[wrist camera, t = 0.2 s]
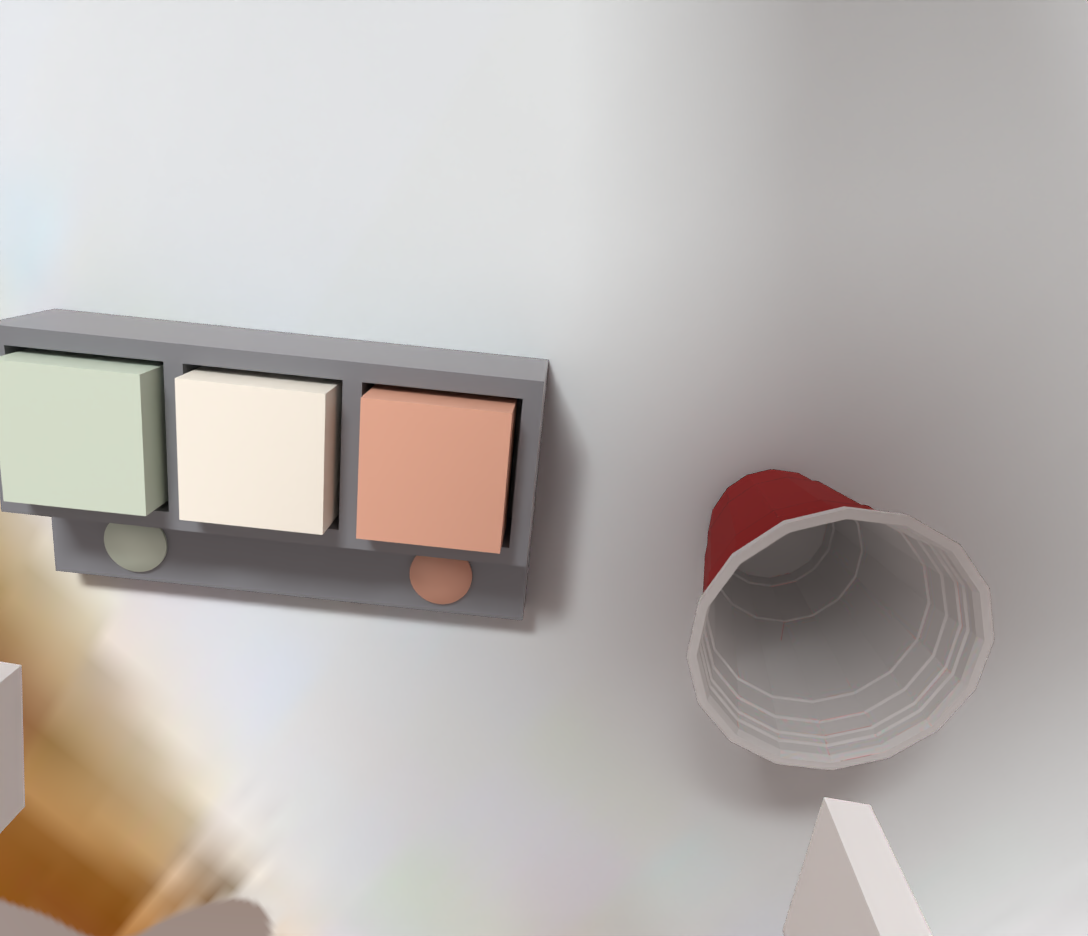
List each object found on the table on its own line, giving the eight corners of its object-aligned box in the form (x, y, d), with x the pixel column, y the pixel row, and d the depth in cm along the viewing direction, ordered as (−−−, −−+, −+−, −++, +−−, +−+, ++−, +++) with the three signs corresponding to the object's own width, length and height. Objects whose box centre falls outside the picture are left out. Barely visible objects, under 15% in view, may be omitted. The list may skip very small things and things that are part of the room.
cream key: (206, 364, 37) (174, 378, 34) (345, 378, 37) (325, 393, 34) (209, 496, 39) (179, 519, 36) (341, 509, 39) (322, 534, 36)
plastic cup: (710, 661, 44) (756, 824, 32) (621, 478, 41) (637, 586, 30) (917, 578, 42) (1042, 719, 31) (837, 381, 39) (943, 456, 28)
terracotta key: (377, 382, 37) (360, 397, 34) (517, 396, 37) (512, 413, 34) (372, 513, 39) (356, 538, 36) (505, 527, 38) (499, 553, 36)
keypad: (54, 308, 40) (-18, 323, 35) (548, 359, 40) (544, 381, 35) (73, 558, 44) (10, 602, 39) (524, 606, 43) (517, 656, 39)
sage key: (35, 346, 37) (-11, 358, 34) (174, 361, 37) (139, 374, 34) (46, 478, 39) (3, 501, 36) (178, 492, 39) (146, 516, 36)
